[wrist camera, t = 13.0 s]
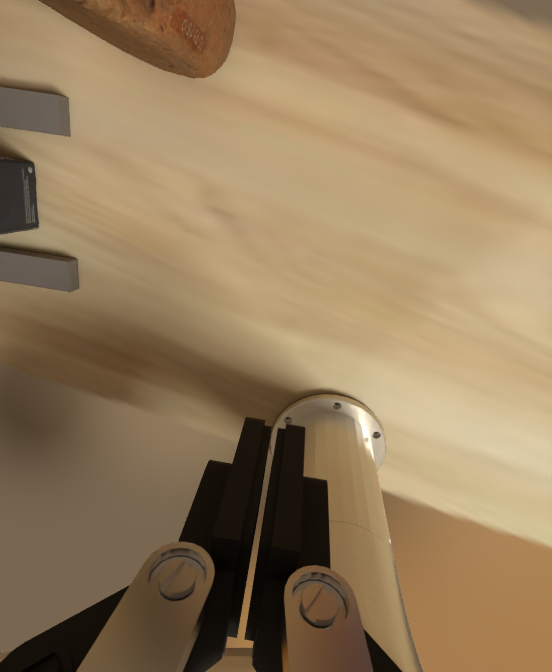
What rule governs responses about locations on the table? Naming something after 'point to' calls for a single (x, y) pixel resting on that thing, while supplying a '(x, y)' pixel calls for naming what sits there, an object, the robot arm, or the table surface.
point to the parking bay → (47, 118)
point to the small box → (17, 196)
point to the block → (160, 30)
